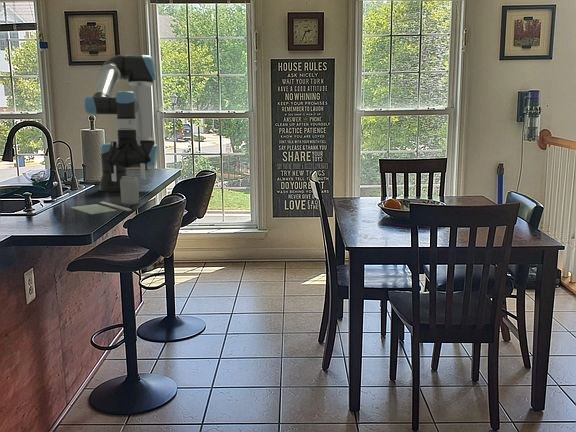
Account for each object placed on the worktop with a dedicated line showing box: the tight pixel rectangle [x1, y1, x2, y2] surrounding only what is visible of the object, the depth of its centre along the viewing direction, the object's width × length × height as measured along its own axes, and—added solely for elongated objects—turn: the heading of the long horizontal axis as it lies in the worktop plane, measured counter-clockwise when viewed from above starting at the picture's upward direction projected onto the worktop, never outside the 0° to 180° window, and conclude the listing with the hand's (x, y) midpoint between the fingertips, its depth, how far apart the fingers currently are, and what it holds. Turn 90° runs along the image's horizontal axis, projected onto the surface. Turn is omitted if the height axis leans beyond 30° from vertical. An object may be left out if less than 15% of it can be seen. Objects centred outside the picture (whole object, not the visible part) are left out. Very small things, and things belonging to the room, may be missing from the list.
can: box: [120, 175, 140, 206], centre depth 255 cm, size 8×8×12 cm
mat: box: [70, 203, 118, 215], centre depth 243 cm, size 11×18×1 cm, turn 43°
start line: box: [99, 201, 133, 212], centre depth 249 cm, size 2×24×1 cm, turn 43°
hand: (129, 179), depth 254 cm, fingers open, 13 cm apart
